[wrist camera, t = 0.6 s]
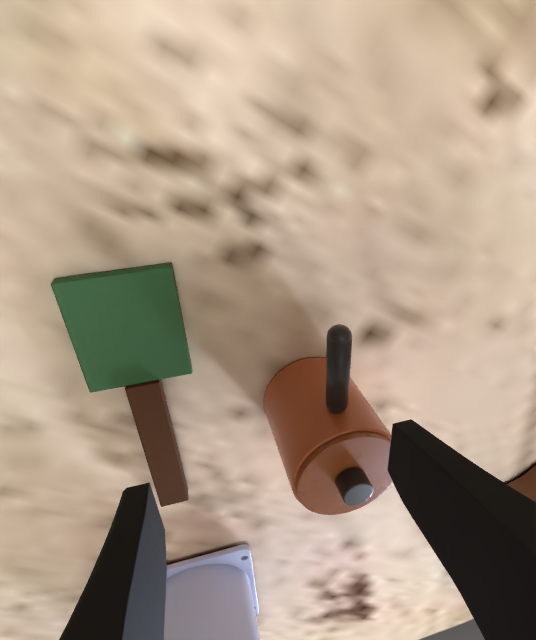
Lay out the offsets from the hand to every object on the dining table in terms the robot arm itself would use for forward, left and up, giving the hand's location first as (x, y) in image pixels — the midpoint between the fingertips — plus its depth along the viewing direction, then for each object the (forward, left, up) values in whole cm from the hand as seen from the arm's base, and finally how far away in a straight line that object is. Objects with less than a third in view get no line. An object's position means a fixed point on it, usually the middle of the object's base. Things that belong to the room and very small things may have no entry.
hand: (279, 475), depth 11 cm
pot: (-3, -4, -9) cm, 10 cm away
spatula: (-3, +5, -9) cm, 11 cm away
